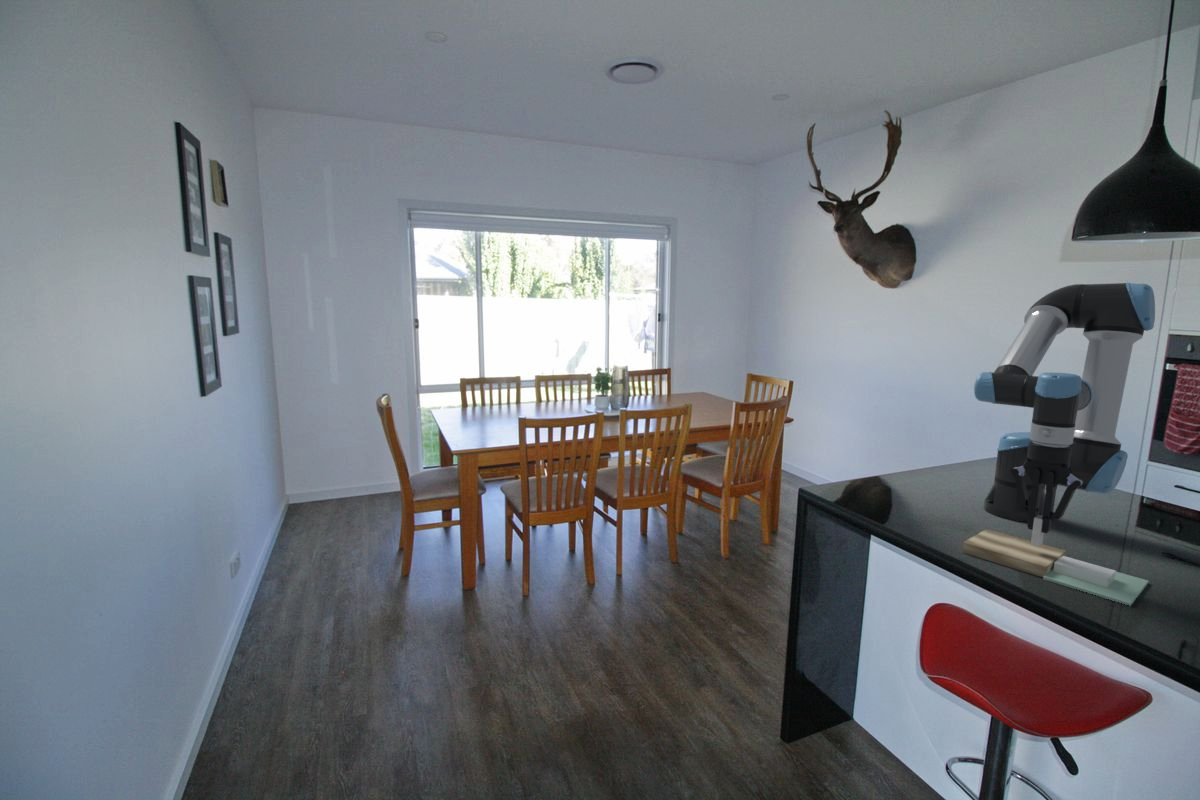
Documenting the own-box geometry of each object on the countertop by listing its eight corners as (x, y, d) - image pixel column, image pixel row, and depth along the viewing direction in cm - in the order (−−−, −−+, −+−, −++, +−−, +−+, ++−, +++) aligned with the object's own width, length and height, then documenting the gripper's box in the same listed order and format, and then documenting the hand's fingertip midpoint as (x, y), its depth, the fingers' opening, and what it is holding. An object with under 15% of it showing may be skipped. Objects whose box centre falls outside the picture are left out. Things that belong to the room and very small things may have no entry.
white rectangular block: (1053, 571, 124) (1054, 562, 124) (1062, 564, 128) (1063, 555, 127) (1106, 587, 117) (1108, 578, 117) (1114, 579, 120) (1116, 570, 120)
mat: (1065, 559, 131) (1065, 557, 131) (1148, 583, 120) (1148, 580, 120) (1042, 579, 122) (1043, 576, 122) (1130, 606, 111) (1130, 603, 111)
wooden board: (985, 538, 143) (986, 529, 143) (1064, 561, 131) (1065, 550, 130) (962, 552, 135) (963, 542, 134) (1044, 577, 122) (1045, 566, 122)
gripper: (1009, 440, 128) (997, 539, 132) (1083, 452, 118) (1067, 559, 122) (1021, 435, 132) (1008, 531, 136) (1093, 446, 122) (1077, 549, 126)
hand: (1036, 544), depth 129 cm, fingers closed
